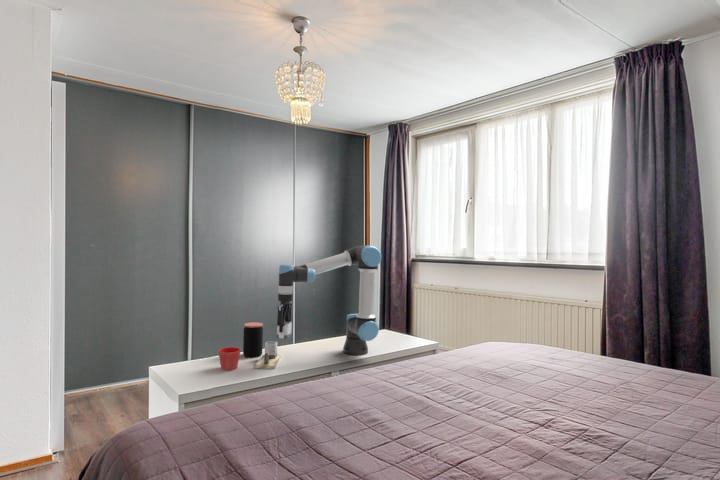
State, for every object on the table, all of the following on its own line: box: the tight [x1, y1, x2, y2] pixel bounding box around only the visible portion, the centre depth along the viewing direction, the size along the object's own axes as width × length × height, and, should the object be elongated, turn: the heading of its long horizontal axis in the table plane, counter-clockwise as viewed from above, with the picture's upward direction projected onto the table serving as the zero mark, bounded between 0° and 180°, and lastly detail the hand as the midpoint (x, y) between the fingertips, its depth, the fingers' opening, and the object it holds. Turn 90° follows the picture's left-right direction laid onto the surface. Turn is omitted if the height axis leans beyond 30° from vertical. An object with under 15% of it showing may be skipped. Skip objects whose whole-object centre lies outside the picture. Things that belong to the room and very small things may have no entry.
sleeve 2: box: [276, 320, 293, 340], centre depth 226 cm, size 6×6×8 cm
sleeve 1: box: [264, 340, 278, 359], centre depth 236 cm, size 6×6×8 cm
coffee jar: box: [242, 321, 264, 359], centre depth 243 cm, size 11×11×18 cm
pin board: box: [254, 352, 282, 370], centre depth 230 cm, size 10×20×7 cm, turn 1°
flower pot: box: [218, 346, 241, 372], centre depth 218 cm, size 11×11×10 cm
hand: (283, 336), depth 226 cm, fingers closed on sleeve 2, 6 cm apart
